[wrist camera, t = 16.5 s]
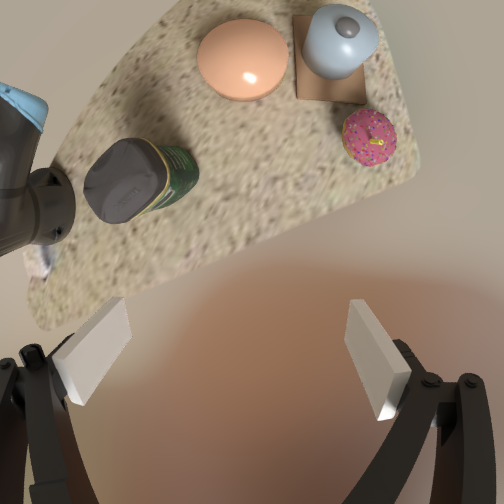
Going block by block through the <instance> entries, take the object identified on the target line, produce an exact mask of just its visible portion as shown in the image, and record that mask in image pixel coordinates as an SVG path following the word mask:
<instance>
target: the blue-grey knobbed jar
mask: <svg viewBox="0 0 504 504" xmlns="http://www.w3.org/2000/svg"><path fill="white" fill-rule="evenodd" d="M378 43H379V35H378V31H377V29H376V27H375V25H374V24H373V22H372V21H371V20H370V19H369V18H368V17H367V16H366V15H365V14H364V13H362V12H361V11H359V10H357V9H355V8H353V7H350V6H347V5H342V4H330V5H326V6H323V7H321V8H320V9H318V10H317V11H316V12H315V14H314V15H313V18H312V21H311V24H310V27H309V30H308V33H307V36H306V39H305V42H304V45H303V49H302V56H303V60H304V62H305V64H306V65H307V67H308V68H309V69H310V70H311V71H312V72H313V73H315V74H316V75H318V76H320V77H322V78H324V79H328V80H342V79H345V78H347V77H349V76H350V75H352V74H353V73H354V71H355V70H356V69H357V68H358V67H359V66H360V65H361V64H362V63H363V62H364V61H365V60H366V59H367V58H368V57H369V56H370V55H371V54H372V53H373V52H374V51H375V50H376V48H377V46H378Z"/></svg>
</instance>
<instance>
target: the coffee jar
mask: <svg viewBox="0 0 504 504" xmlns="http://www.w3.org/2000/svg"><path fill="white" fill-rule="evenodd" d="M198 179H199V169H198V167H197V165H196V163H195V161H194V160H193V158H192V157H191V156H190V154H189V153H188V152H187V151H185V150H184V149H183V148H180V147H175V146H155V145H153V144H152V143H151V142H150V141H148V140H146V139H143V138H125V139H121V140H119V141H117V142H116V143H114V144H113V145H112V146H111V147H110V148H109V149H108V150H107V151H106V152H104V153H103V154H102V155H101V157H100V158H99V159H98V160H97V161H96V162H95V163H94V165H93V166H92V167H91V168H90V170H89V171H88V173H87V175H86V178H85V181H84V190H83V193H84V196H85V198H86V199H87V201H88V203H89V205H90V207H91V208H92V210H93V211H94V212H95V214H96V215H97V216H98V218H99V219H101V220H102V221H104V222H106V223H110V224H120V223H125V222H128V221H130V220H132V219H134V218H136V217H138V216H140V215H142V214H144V213H147V212H150V211H153V210H156V209H160V208H164V207H167V206H169V205H171V204H173V203H174V202H176V201H177V200H179V199H180V198H182V197H183V196H184V195H185V194H186V193H188V192H189V191H190V190H191V189H192V188H193V187H194V186H195V185H196V183H197V181H198Z"/></svg>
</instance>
